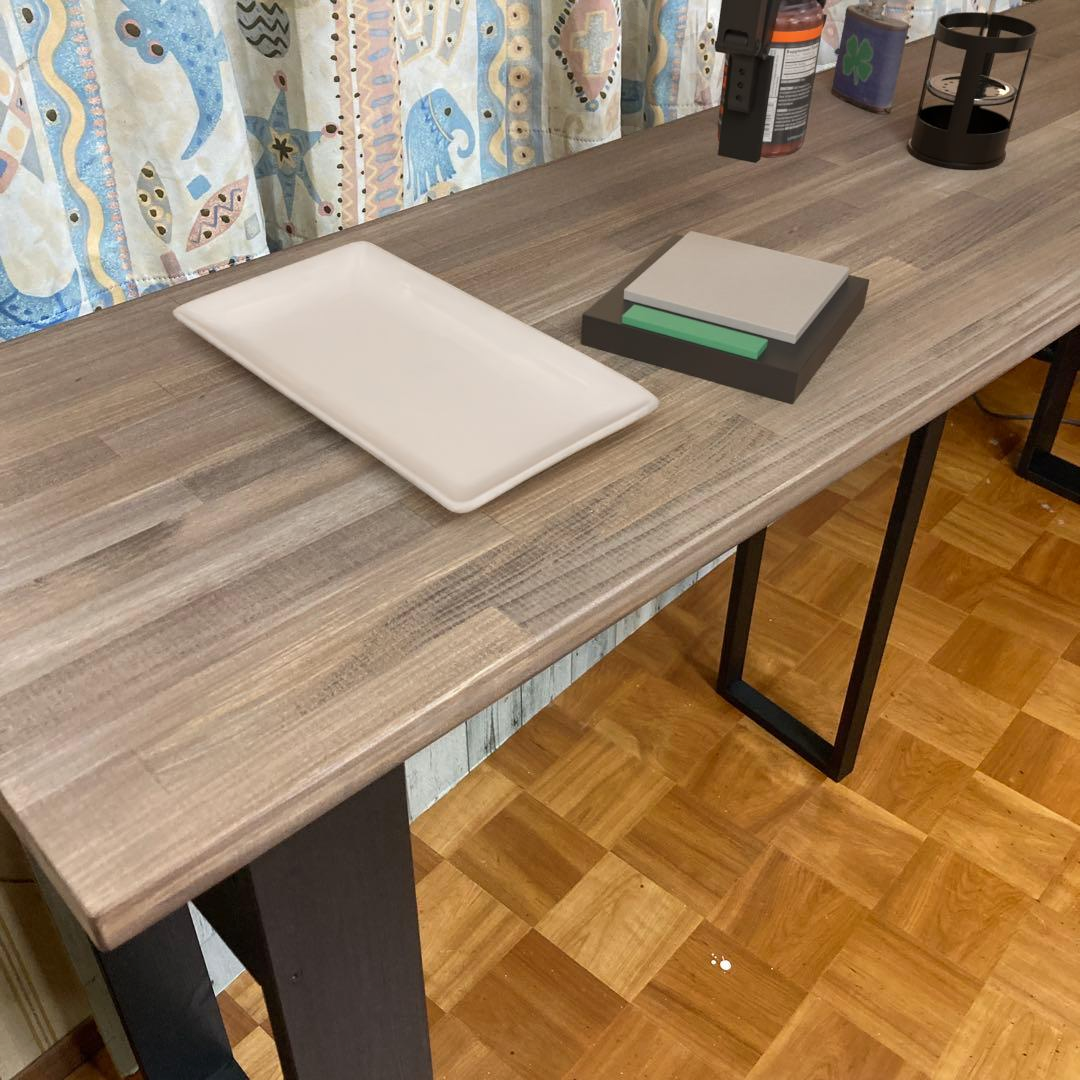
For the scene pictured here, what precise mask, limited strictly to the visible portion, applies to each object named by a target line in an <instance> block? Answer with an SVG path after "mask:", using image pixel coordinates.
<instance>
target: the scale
mask: <svg viewBox="0 0 1080 1080" xmlns="http://www.w3.org/2000/svg"><path fill="white" fill-rule="evenodd" d="M850 270H851V269H850V267H848V266H844V265H840V264H835V263H830V262H827V261H822V260H817V259H814V258H809V257H805V256H801V255H797V254H792V253H787V252H784V251H779V250H776V249H775V250H774V249H771V248H767V247H762V246H758V245H753V244H749V243H745V242H740V241H737V240H732V239H728V238H725V237H719V236H715V235H710V234H706V233H701V232H698V231H693V230H689V231H688V232H687V233H686V234H685V235H681V234H677V233H674V234H673V235H672V236H671V237H670V238H668V239H667V240H666V241H665V242H664V243H662V245H660V246H659V247H658V248H657V249H656V250H654V251H653V252H652V253H651V254H650V255H649V256H647V257H646V258H645V259H644V260H643V261H642V262H641V263H639V264H638V265H637V266H636V267H635V268H633V270H632V271H630V272H629V273H628V274H627V275H626V276H625V277H623V278H621V280H620V281H619V282H618V283H616V284H615V285H614V286H613V287H612V288H611V289H610V290H609V291H607V292H606V293H605V294H604V295H603V296H602V297H601V298H599V299H598V300H597V301H596V302H595V303H594V304H593V305H591V306H590V307H589V308H588V309H586V310H585V311H584V312H582V315H581V317H582V318H581V336H580V337H581V339H580V340H581V342H580V343H581V345H583V346H587V347H591V348H594V349H598V350H601V351H605V352H608V353H612V354H615V355H619V356H622V357H626V358H630V359H632V360H637V361H640V362H644V363H647V364H650V365H654V366H657V367H660V368H665V369H668V370H671V371H675V372H679V373H681V374H686V375H688V376H691V377H696V378H699V379H703V380H706V381H710V382H714V383H717V384H720V385H725V386H727V387H731V388H735V389H738V390H742V391H745V392H748V393H752V394H756V395H758V396H763V397H766V398H770V399H773V400H776V401H780V402H783V403H787V404H791V405H793V404H794V403H795V402H796V400H797V399H798V398H799V396H800V395H801V393H802V392H804V389H805V388H806V387H807V385H808V384H809V383H810V381H812V379H813V377H814V376H815V375H816V374H817V372H818V370H819V369H820V368H821V367H822V365H823V364H824V362H825V361H826V360H827V358H829V356H830V354H832V352H833V350H834V349H835V347H836V346H837V345H838V343H839V342H840V341H841V340H842V338H843V337H844V335H845V334H846V333H847V331H848V330H849V329H850V327H851V326H852V324H853V323H854V322H855V320H856V319H857V317H859V315H860V314H861V313H862V311H863V309H864V308H865V303H866V298H867V294H868V290H869V285H870V279H869V278H865V277H860V276H856V275H852V274H850Z"/></svg>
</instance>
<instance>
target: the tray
mask: <svg viewBox="0 0 1080 1080" xmlns="http://www.w3.org/2000/svg"><path fill="white" fill-rule="evenodd" d="M172 315H173V317H174V318H175V319H176V320H177V321H178V322H179V323H181V324H182V325H184V326H185V327H186V328H188V329H189V330H190V331H192V332H194V333H195V334H196V335H198V336H199V337H200V338H202V339H203V340H205V341H206V342H208V343H209V344H210V345H212V346H214V347H215V348H216V349H218V350H219V351H220V352H222V353H223V354H225V355H226V356H228V357H229V358H231V359H232V360H233V361H235V362H237V363H238V364H240V365H241V366H242V367H243V368H245V369H247V370H248V371H249V372H251V373H252V374H254V375H255V376H256V377H258V378H259V379H261V380H262V381H264V382H265V383H266V384H267V385H269V386H270V387H272V388H273V389H275V390H276V391H277V392H279V393H281V394H282V395H283V396H285V397H286V398H288V399H289V400H290V401H292V402H294V403H295V404H297V406H300V407H301V408H303V409H304V410H305V411H306V412H308V413H310V414H311V415H313V416H314V417H316V418H317V419H318V420H320V421H322V422H323V423H325V424H326V425H327V426H329V427H330V428H332V429H333V430H335V431H336V432H338V433H339V434H341V436H343V437H345V438H347V439H348V440H350V441H351V442H353V443H354V444H355V445H357V446H359V447H360V449H362V450H364V451H366V452H367V453H368V454H369V455H371V456H373V457H374V458H376V459H377V460H378V461H380V462H381V463H383V464H384V465H386V466H387V467H388V468H390V469H391V470H392V471H394V472H395V473H397V474H398V475H399V476H401V477H402V478H403V479H405V480H406V481H408V482H409V483H411V484H412V485H414V486H415V487H416V488H418V489H419V490H420V491H422V492H423V493H425V494H426V495H427V496H429V497H430V498H432V499H433V500H434V501H436V502H437V503H438V504H439V505H441V506H442V507H444V508H445V509H446V510H448V511H450V512H452V513H455V514H467V513H471V512H473V511H474V510H477V509H479V508H480V507H482V506H484V505H486V504H488V503H489V502H492V500H495V499H496V498H498V497H499V496H502V495H503V494H505V493H507V492H508V491H510V490H511V489H514V488H515V487H517V486H518V485H520V484H522V483H523V482H525V481H527V480H529V479H531V478H532V477H534V476H536V475H538V474H539V473H541V472H543V471H545V470H547V469H549V468H551V467H552V466H555V465H556V464H558V463H559V462H561V461H563V460H564V459H567V458H568V457H570V456H572V455H573V454H575V453H577V452H580V451H581V450H583V449H585V448H587V447H590V446H591V445H593V444H595V443H597V442H600V441H601V440H603V439H605V438H607V437H609V436H611V435H613V434H615V433H616V432H619V431H620V430H622V429H624V428H626V427H629V426H630V425H631V424H635V423H636V422H637V421H639V420H641V419H643V418H645V417H647V416H649V415H650V414H652V413H653V412H655V410H656V409H657V408H658V407H659V406H660V403H661V402H660V400H659V398H658V397H657V396H656V395H655V394H653V393H652V392H651V391H650V390H648V389H647V388H645V387H643V386H642V385H641V384H639V383H638V382H636V381H635V380H633V379H631V378H629V377H628V376H626V375H624V374H622V373H621V372H619V371H617V370H615V369H612V368H611V367H609V366H607V365H606V364H604V363H601V362H599V360H596V359H594V358H592V357H590V356H589V355H587V354H585V353H583V352H581V351H580V350H578V349H575V348H574V347H571V346H570V345H568V344H566V343H564V342H562V341H560V340H558V339H556V338H554V337H553V336H551V335H549V334H547V333H545V332H543V331H541V330H539V329H538V328H535V327H534V326H531V325H530V324H527V323H526V322H524V321H521V320H519V319H518V318H516V317H514V316H512V315H510V314H508V313H507V312H505V311H502V310H500V309H499V308H497V307H494V306H493V305H492V304H489V303H487V302H486V301H483V300H482V299H479V298H477V297H475V296H474V295H471V294H470V293H468V292H466V291H464V290H462V289H460V288H458V287H456V286H454V285H452V284H450V283H449V282H447V281H445V280H443V279H441V278H439V277H438V276H435V275H433V274H431V273H430V272H428V271H425V270H424V269H422V268H420V267H418V266H416V265H415V264H412V263H410V262H408V261H406V260H405V259H403V258H401V257H399V256H397V255H395V254H394V253H392V252H390V251H388V250H386V249H384V248H383V247H381V246H378V245H377V244H374V243H372V242H370V241H367V240H358V241H353V242H350V243H349V242H348V243H347V244H343V245H341V246H338V247H334V248H332V249H329V250H326V251H324V252H322V253H318V254H315V255H313V256H311V257H307V258H305V259H302V260H299V261H296V262H293V263H290V264H288V265H285V266H282V267H280V268H277V269H274V270H271V271H268V272H265V273H262V274H260V275H257V276H254V277H251V278H249V279H246V280H243V281H241V282H238V283H236V284H233V285H229V286H227V287H224V288H221V289H218V290H216V291H214V292H211V293H208V294H205V295H202V296H200V297H197V298H195V299H193V300H192V299H191V300H190V301H187V302H185V303H183V304H181V305H178V306H176V307H175V308H174V309H173V310H172Z"/></svg>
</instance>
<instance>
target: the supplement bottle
mask: <svg viewBox="0 0 1080 1080" xmlns="http://www.w3.org/2000/svg"><path fill="white" fill-rule="evenodd" d="M824 14H825V13H824V9H822V7H821V5H820V4H819V3H818V2H817V1H816V0H781V1H780V6H779V10H778V15H777V19H776V23H775V28H774V32H773V37H772V41H771V45H770V52H769V54H768V55H771V56H775V57H774V64H773V71H772V79H771V86H770V93H769V100H768V107H767V114H766V121H765V129H764V136H763V143H762V150H761V157H760V158H764V159H776V158H782V157H785V156H786V157H787V156H789V155H792V154H795V153H796V152H798V151H799V150H800V149H801V148H802V147H803V145H804V143H805V138H806V135H807V128H808V123H809V122H808V121H809V117H810V108H811V103H812V98H813V90H814V83H815V78H816V72H817V66H818V60H819V53H820V48H821V47H820V46H821V40H822V33H823V29H824V27H823V19H824ZM822 28H823V29H822ZM743 32H744V31H743ZM724 54H725V55H724V67H723V75H722V83H721V92H720V93H721V94H720V100H719V110H718V118H717V119H718V120H717V135H716V137H717V140H718V142H719V140H720V131H721V122H722V114H723V105H724V96H725V88H726V79H727V70H728V62H729V54H726V53H724Z"/></svg>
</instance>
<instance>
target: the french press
mask: <svg viewBox="0 0 1080 1080" xmlns="http://www.w3.org/2000/svg"><path fill="white" fill-rule="evenodd" d="M1021 1H1022V2H1026V3H1035V2H1037V1H1038V0H1021ZM995 3H996V0H990V3H989V5H988V6H989V7H988V10H987V11H985V12H979V11H978V12H977V11H976V12H975V11H964V12H963V11H961V12H953V13H947V14H943V15H941V16H940V17H938V18H937V20H936V25H935V30H934V34H933V39H932V42H931V48H930V53H929V57H928V62H927V67H926V71H925V75H924V79H923V84H922V89H921V94H920V97H919V101H918V103H919V104H918V108H917V111H916V116H915V121H914V126H913V130H912V136H911V138H910V139H909V140H908V143H907V146H906V148H907V151H908V152H909V154H910V155H912V156H913V157H914V158H916V159H918V160H920V161H922V162H924V163H926V164H927V163H928V164H930V165H934V166H937V167H941V168H947V169H955V170H973V171H974V170H986V169H990V168H991V169H992V168H995V167H997V166H1000V165H1001V164H1003V162H1004V161H1005V160H1006V157H1007V151H1006V148H1007V145H1008V140H1009V137H1010V133H1011V130H1012V125H1013V121H1014V119H1015V115H1016V111H1017V107H1018V105H1019V104H1018V103H1019V99H1020V96H1021V93H1022V88H1023V85H1024V81H1025V78H1026V74H1027V70H1028V67H1029V64H1030V59H1031V55H1032V52H1033V48H1034V45H1035V41H1036V38H1037V33H1038V27H1037V26H1036V25H1035V24H1034V23H1032V22H1030V21H1028V20H1025V19H1022V18H1018V17H1015V16H1011V15H1006V14H1005V13H1004V12H996V11H993V10H994V7H995ZM954 28H955V29H956V28H979V32H978V35H975V34H969V33H965V32H960V31H958V30H954ZM1001 31H1003V32H1007V33H1011V34H1015V35H1017V36H1011V37H1001V36H1000V35H1001ZM938 42H939V43H941V44H944V45H946V46H949V47H952V48H955V49H960V50H964V51H965V54H964V59H963V63H962V67H961V71H960V73H959V72H955V73H952V72H951V73H941V74H936V75H934V76H932V77H930V75H931V70H932V65H933V61H934V56H935V52H936V47H937V43H938ZM1025 51H1027V54H1026V58H1025V62H1024V65H1023V68H1022V73H1021V77H1020V80H1019V84H1018V88H1017V87H1016V86H1014V84H1012V83H1010V82H1008V81H1006V80H1003V79H999V78H997V77H993V76H991V72H992V68H993V63H994V59H995V56H996V54H1015V53H1022V52H1025ZM926 92H928V93H929V94H930V95H931V96H933V97H935V98H938V99H939V100H943V101H946V102H949V103H942V104H941V103H940V104H933V105H928V106H925V107H924V102H925V98H926ZM1013 101H1014V102H1013ZM1012 102H1013V106H1012V109H1011V113H1010V117H1007V116H1005V115H1004V114H1002V113H1000V112H997V111H994V110H991V109H989V108H988V109H987V108H985V107H995V106H1002V105H1006V104H1009V103H1012Z"/></svg>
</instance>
